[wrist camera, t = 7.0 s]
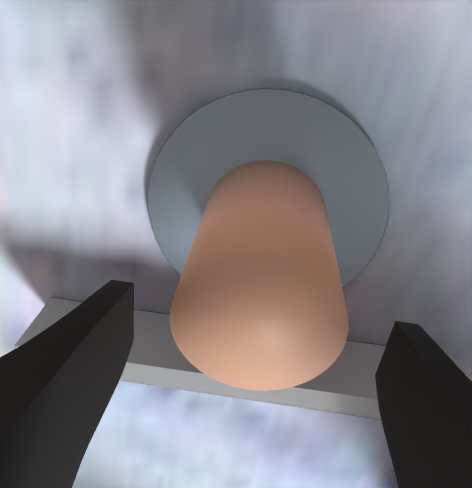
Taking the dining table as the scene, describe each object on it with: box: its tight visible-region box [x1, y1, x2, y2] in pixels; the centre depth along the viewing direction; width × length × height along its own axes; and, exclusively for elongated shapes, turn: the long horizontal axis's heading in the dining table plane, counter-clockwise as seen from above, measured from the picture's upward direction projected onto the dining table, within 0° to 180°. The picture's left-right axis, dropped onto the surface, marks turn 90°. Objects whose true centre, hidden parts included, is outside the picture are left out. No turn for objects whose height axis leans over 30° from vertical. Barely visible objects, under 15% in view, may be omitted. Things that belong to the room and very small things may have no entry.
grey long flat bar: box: [15, 298, 386, 420], centre depth 21 cm, size 20×1×4 cm, turn 84°
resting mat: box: [148, 89, 389, 288], centre depth 18 cm, size 10×10×1 cm
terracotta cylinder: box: [170, 160, 349, 391], centre depth 15 cm, size 5×5×7 cm
